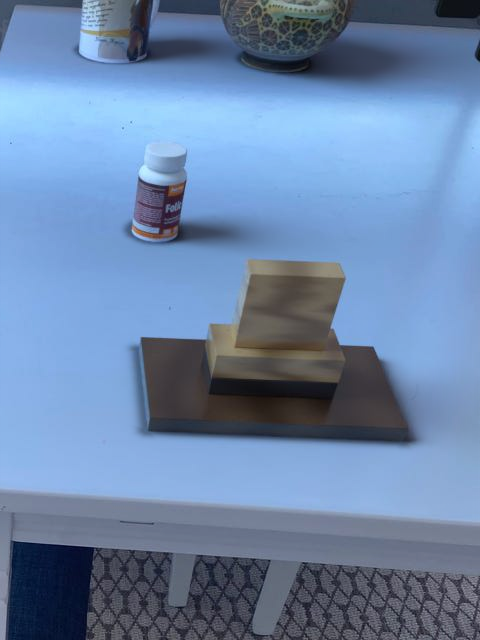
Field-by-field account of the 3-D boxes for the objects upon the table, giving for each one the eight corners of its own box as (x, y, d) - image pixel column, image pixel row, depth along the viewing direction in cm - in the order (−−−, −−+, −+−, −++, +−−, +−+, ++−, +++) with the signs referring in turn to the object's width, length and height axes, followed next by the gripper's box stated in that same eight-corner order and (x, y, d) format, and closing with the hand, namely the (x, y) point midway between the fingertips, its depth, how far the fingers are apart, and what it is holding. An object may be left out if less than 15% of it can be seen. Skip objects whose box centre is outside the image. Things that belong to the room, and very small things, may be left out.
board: (368, 361, 82) (373, 345, 80) (402, 444, 74) (409, 428, 72) (138, 352, 82) (140, 336, 81) (147, 434, 74) (149, 417, 73)
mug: (73, 42, 139) (79, -49, 131) (152, 41, 140) (163, -49, 132) (84, 65, 132) (92, -29, 124) (168, 64, 133) (181, -29, 125)
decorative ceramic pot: (213, 55, 145) (206, -61, 134) (333, 25, 141) (336, -96, 131) (236, 114, 128) (230, -12, 118) (372, 82, 125) (379, -51, 114)
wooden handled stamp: (321, 366, 78) (356, 255, 71) (333, 399, 75) (370, 286, 68) (201, 361, 78) (224, 250, 71) (207, 394, 75) (232, 281, 68)
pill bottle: (167, 248, 95) (181, 161, 89) (124, 238, 96) (134, 151, 90) (183, 230, 98) (198, 145, 92) (141, 220, 99) (152, 135, 93)
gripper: (746, -307, 46) (578, 83, 58) (606, -326, 57) (491, 3, 70) (591, -312, 46) (456, 79, 58) (483, -330, 57) (390, 0, 70)
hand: (476, 38), depth 64 cm, fingers open, 9 cm apart
